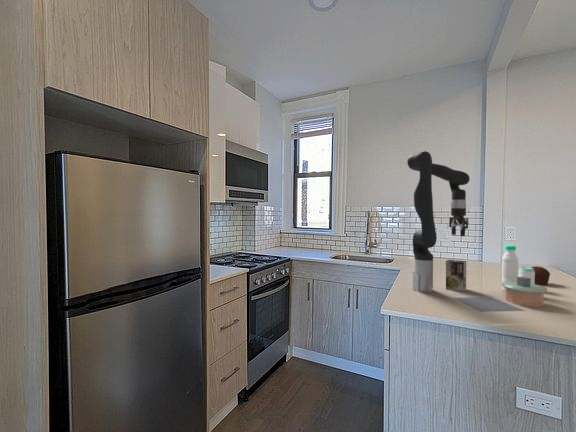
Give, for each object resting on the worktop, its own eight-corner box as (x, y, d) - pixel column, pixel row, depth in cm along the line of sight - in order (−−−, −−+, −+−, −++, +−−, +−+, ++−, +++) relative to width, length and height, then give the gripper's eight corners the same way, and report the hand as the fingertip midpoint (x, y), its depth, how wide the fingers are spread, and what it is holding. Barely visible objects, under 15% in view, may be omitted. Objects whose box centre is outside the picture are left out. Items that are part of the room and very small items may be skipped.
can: (517, 289, 165) (518, 267, 165) (519, 286, 170) (519, 266, 170) (534, 291, 160) (534, 269, 160) (534, 289, 165) (535, 267, 165)
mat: (480, 312, 127) (480, 311, 127) (452, 298, 147) (452, 297, 147) (524, 311, 128) (524, 310, 128) (491, 298, 148) (491, 297, 148)
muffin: (548, 286, 170) (548, 269, 170) (524, 283, 178) (524, 266, 178) (551, 283, 178) (551, 267, 177) (528, 280, 186) (528, 264, 186)
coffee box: (466, 290, 163) (467, 261, 163) (463, 292, 158) (464, 262, 158) (448, 287, 169) (448, 259, 169) (445, 289, 165) (445, 260, 164)
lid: (521, 293, 132) (521, 282, 132) (493, 283, 149) (493, 273, 149) (557, 292, 133) (558, 281, 133) (525, 283, 150) (525, 273, 150)
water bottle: (514, 290, 163) (515, 245, 162) (520, 293, 156) (521, 246, 155) (499, 289, 165) (500, 244, 164) (504, 292, 158) (505, 246, 158)
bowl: (521, 307, 134) (522, 292, 133) (498, 298, 148) (498, 284, 147) (551, 307, 134) (551, 291, 134) (525, 298, 148) (525, 284, 148)
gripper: (445, 207, 178) (444, 234, 179) (459, 207, 164) (459, 236, 164) (457, 207, 179) (456, 234, 179) (472, 207, 164) (472, 236, 165)
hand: (458, 235), depth 172 cm, fingers open, 8 cm apart
